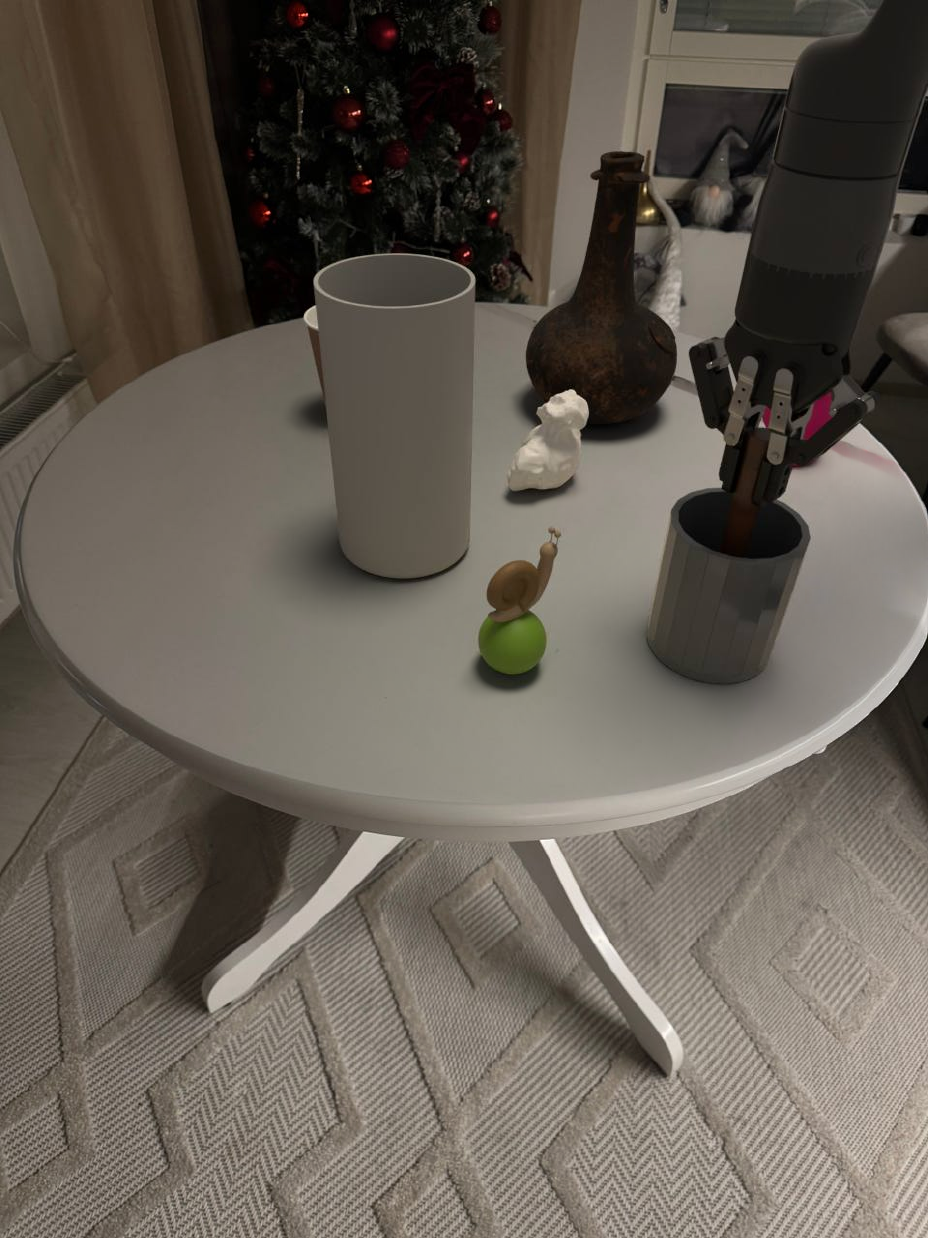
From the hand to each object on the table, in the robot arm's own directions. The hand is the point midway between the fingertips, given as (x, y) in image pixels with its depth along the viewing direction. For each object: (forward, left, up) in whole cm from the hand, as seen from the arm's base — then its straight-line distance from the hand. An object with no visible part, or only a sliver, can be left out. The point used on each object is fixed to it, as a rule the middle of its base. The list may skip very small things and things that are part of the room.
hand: (747, 494), depth 62 cm
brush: (0, 0, -11) cm, 11 cm away
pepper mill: (-34, -13, -15) cm, 39 cm away
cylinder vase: (+10, -28, -15) cm, 33 cm away
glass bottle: (-26, -35, -15) cm, 46 cm away
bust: (-9, -27, -15) cm, 32 cm away
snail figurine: (+14, -9, -15) cm, 22 cm away
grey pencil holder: (0, 0, -15) cm, 15 cm away
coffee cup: (-3, -53, -15) cm, 55 cm away
